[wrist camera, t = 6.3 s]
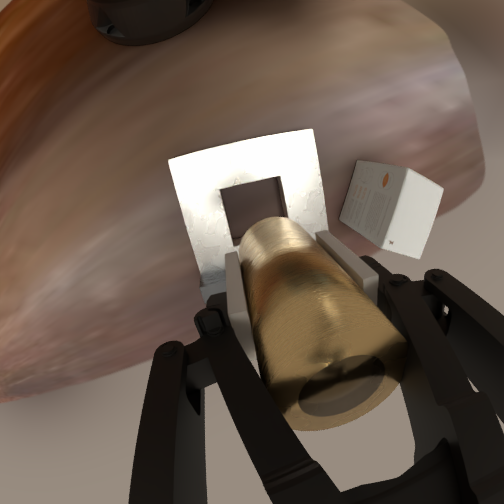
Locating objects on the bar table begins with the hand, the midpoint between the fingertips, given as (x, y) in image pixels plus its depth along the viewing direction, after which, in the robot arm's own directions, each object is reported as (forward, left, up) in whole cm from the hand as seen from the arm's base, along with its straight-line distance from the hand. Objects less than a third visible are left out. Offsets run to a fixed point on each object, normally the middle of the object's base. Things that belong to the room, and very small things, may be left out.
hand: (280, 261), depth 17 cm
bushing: (0, 0, -2) cm, 2 cm away
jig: (0, 0, -15) cm, 15 cm away
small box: (+1, +14, -15) cm, 21 cm away
